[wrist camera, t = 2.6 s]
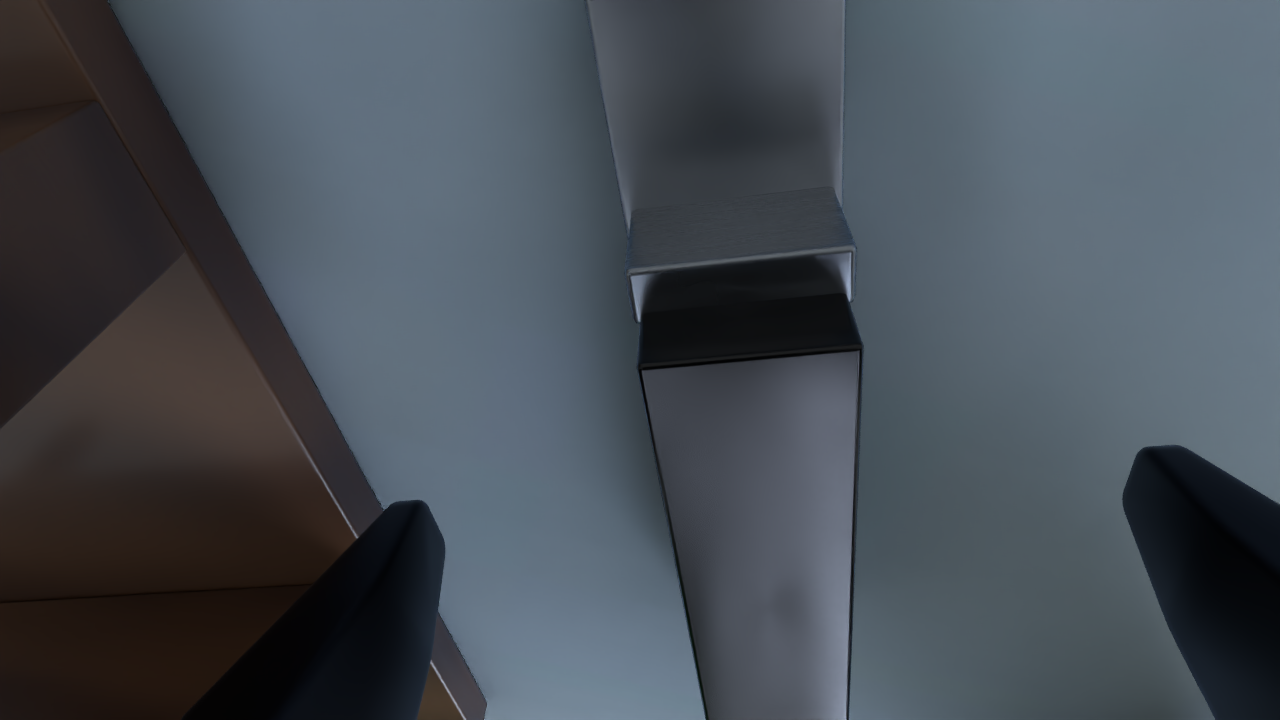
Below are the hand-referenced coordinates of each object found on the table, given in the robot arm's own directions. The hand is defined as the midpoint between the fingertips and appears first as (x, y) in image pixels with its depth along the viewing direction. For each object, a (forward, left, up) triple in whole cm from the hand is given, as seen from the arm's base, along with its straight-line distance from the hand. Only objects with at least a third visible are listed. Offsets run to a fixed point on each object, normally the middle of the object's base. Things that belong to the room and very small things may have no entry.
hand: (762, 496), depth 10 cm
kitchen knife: (+3, 0, -3) cm, 4 cm away
